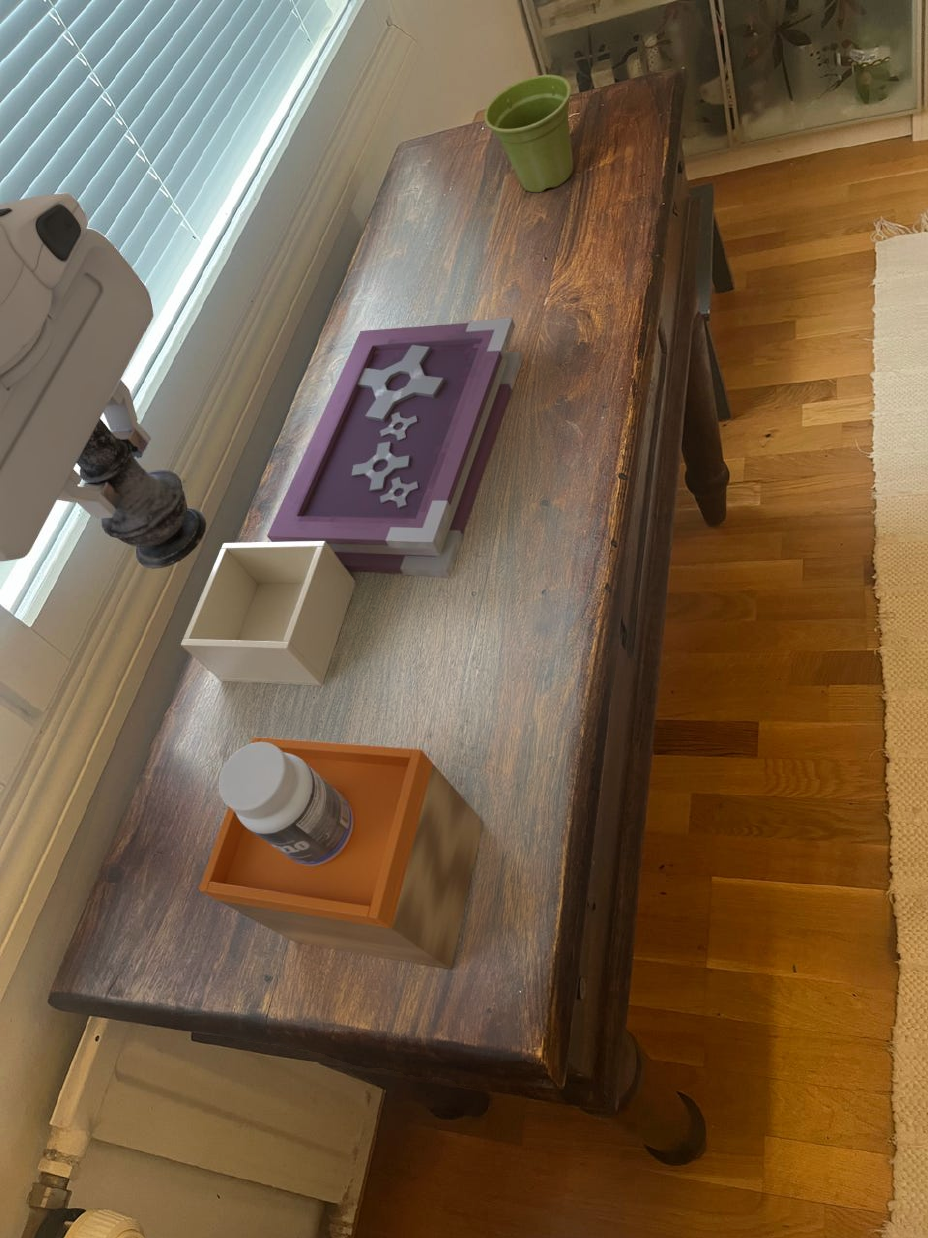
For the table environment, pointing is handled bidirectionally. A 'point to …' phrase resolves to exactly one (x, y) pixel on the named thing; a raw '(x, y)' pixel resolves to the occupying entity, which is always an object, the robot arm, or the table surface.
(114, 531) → the chess bishop
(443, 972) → the table surface
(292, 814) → the pill bottle
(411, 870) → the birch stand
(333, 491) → the book
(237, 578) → the cream bin
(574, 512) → the table surface
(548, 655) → the table surface
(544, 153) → the plant pot
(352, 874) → the amber tray
